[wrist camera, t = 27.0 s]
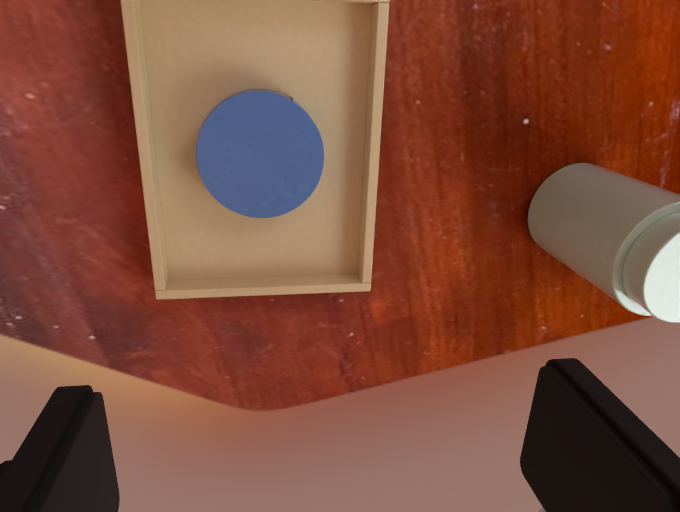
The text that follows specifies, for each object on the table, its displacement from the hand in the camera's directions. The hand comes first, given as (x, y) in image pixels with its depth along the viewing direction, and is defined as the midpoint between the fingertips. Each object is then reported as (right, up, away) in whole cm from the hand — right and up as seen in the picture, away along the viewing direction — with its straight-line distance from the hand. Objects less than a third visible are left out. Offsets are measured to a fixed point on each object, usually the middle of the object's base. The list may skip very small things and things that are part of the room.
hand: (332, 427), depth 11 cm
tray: (-4, +10, +19) cm, 22 cm away
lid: (-4, +9, +17) cm, 20 cm away
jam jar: (+16, +7, +24) cm, 30 cm away
